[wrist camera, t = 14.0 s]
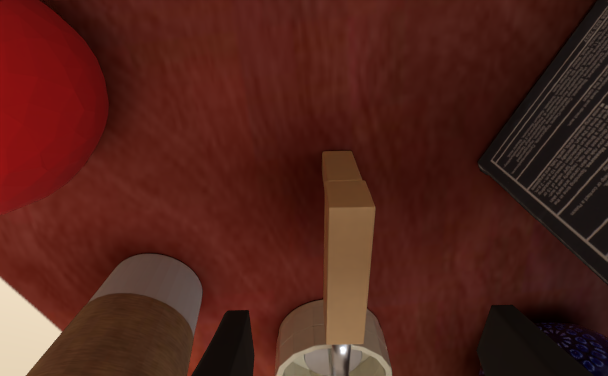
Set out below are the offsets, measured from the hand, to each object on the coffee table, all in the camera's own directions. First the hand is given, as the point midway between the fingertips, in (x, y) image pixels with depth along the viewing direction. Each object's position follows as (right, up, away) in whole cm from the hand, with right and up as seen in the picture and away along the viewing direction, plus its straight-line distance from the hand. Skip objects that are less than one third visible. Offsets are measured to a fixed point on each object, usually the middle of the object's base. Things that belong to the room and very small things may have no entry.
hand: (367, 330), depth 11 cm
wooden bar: (0, -1, +12) cm, 12 cm away
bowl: (0, -7, +16) cm, 17 cm away
